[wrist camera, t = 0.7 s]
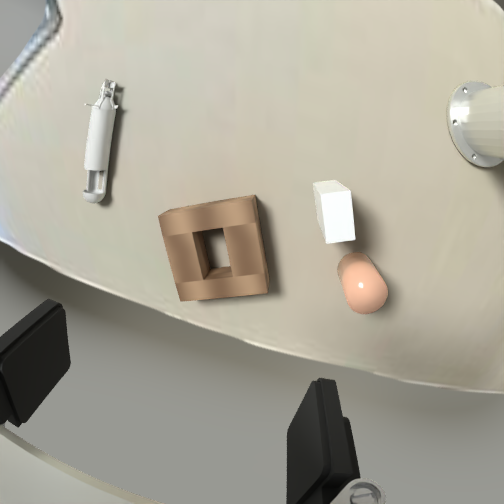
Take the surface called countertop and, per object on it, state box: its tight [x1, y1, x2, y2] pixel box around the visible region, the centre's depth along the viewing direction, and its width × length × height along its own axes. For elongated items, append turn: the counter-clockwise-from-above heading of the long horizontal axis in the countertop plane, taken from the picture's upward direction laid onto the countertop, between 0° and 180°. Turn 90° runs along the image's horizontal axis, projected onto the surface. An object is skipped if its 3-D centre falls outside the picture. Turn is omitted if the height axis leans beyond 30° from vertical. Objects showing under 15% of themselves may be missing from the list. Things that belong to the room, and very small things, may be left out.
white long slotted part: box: [83, 79, 118, 203], centre depth 37 cm, size 18×5×7 cm, turn 169°
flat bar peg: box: [313, 180, 355, 244], centre depth 34 cm, size 3×5×10 cm, turn 10°
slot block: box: [158, 195, 270, 301], centre depth 41 cm, size 12×12×4 cm
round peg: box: [338, 252, 388, 314], centre depth 38 cm, size 5×5×8 cm
